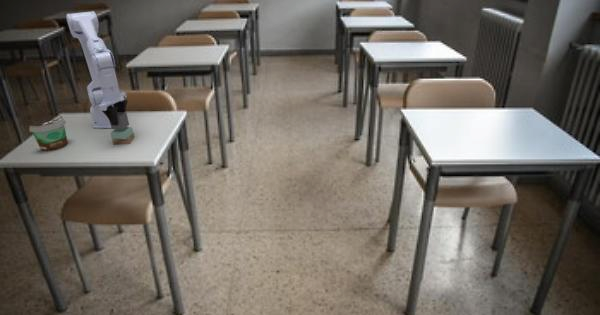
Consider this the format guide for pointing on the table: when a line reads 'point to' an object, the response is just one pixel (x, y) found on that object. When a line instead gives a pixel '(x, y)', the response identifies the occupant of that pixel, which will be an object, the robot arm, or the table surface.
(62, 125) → the food container
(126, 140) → the walnut slab
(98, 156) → the table surface
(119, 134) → the teal slab
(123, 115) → the charcoal block
